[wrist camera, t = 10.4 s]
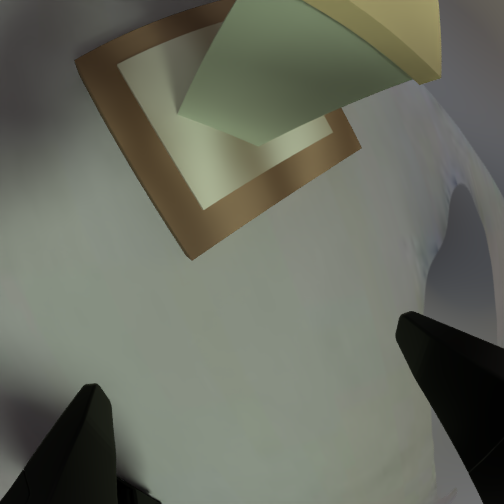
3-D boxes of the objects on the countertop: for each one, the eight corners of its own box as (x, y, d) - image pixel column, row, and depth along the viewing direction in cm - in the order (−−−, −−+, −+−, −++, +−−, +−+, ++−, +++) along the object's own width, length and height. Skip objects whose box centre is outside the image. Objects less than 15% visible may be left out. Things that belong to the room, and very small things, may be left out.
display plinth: (186, 255, 19) (193, 261, 17) (78, 74, 15) (73, 58, 12) (344, 151, 22) (364, 147, 20) (254, 4, 18) (265, -12, 16)
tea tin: (259, 149, 17) (441, 78, 6) (173, 116, 15) (260, -48, 4) (284, 78, 17) (435, -19, 6) (208, 44, 15) (309, -107, 4)
